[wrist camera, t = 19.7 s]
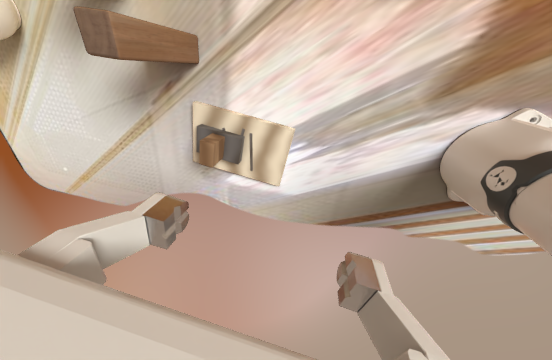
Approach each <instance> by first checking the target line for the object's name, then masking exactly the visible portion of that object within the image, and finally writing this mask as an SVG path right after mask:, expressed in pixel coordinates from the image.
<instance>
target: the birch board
mask: <svg viewBox="0 0 552 360" xmlns="http://www.w3.org/2000/svg"><path fill="white" fill-rule="evenodd" d="M200 124H204V125H207V126H211V127H214V128H217V129H221V130H224V131H228V132H231V133H235V134H238V135H242V136H245V139H244V146H243V153H242V161H241V162H240V163H239V164H235V163H231V162H228V161H225V160H220V161H219V162H218V163H217V164H216V165H215V166H214V167H215V168H218V169H221V170H225V171H228V172H232V173H235V174H238V175H242V176H245V177H248V178H252V179H255V180H259V181H262V182H265V183H269V184H272V185H276V186H279V185H280V182H281V178H282V175H283V171H284V168H285V164H286V160H287V157H288V153H289V149H290V146H291V142H292V139H293V135H294V131H295V128H292V127H288V126H284V125H281V124H277V123H274V122H270V121H266V120H263V119H259V118H256V117H252V116H248V115H245V114H241V113H238V112H234V111H230V110H227V109H223V108H220V107H216V106H212V105H209V104H205V103H202V102H198V101H195V102H193V161H194V162H198V163H199V155H200V153H198V152H196V141H197V126H198V125H200Z"/></svg>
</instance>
